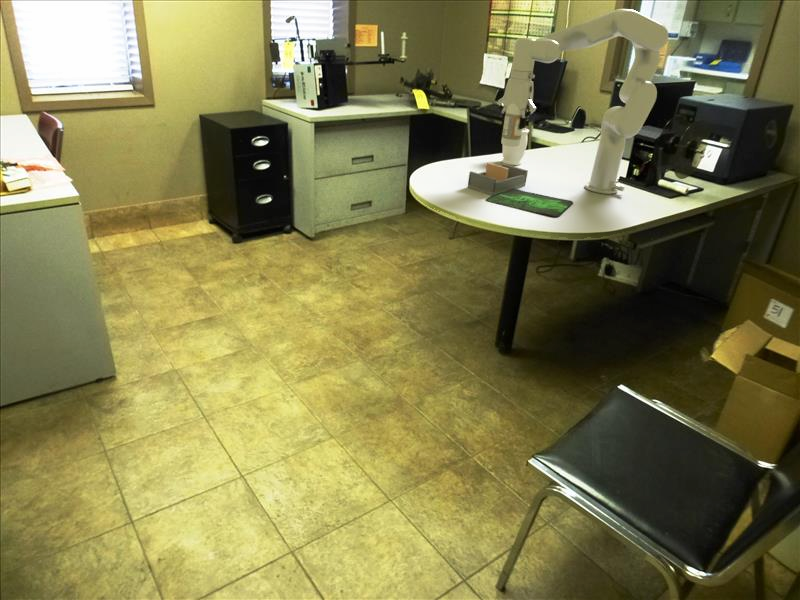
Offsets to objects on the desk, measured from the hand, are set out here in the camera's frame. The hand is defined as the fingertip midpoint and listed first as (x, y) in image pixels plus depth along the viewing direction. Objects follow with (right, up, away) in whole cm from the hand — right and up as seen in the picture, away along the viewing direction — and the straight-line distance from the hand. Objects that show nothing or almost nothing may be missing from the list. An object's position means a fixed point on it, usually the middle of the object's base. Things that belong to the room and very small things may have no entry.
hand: (513, 126), depth 212 cm
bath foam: (-1, -6, +3) cm, 7 cm away
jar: (+8, -4, +42) cm, 43 cm away
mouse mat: (+5, -30, -6) cm, 31 cm away
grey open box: (-5, -21, +8) cm, 23 cm away
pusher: (-7, -21, +5) cm, 23 cm away
